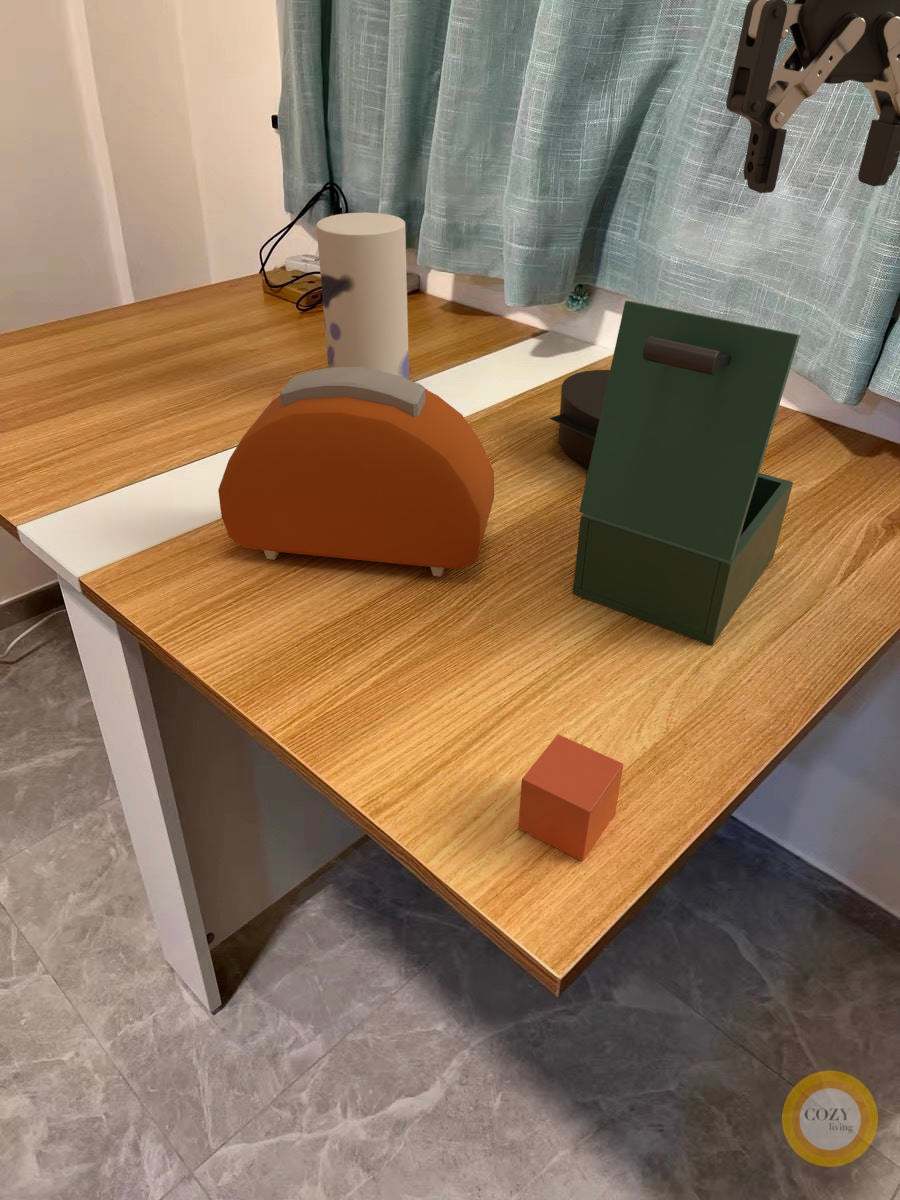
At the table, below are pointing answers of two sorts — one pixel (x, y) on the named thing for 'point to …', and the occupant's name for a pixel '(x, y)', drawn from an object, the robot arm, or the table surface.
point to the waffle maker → (581, 414)
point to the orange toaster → (360, 474)
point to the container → (365, 291)
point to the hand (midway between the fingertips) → (816, 187)
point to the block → (569, 796)
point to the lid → (686, 425)
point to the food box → (679, 568)
